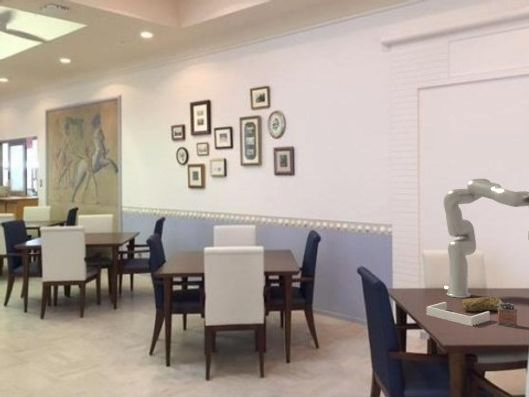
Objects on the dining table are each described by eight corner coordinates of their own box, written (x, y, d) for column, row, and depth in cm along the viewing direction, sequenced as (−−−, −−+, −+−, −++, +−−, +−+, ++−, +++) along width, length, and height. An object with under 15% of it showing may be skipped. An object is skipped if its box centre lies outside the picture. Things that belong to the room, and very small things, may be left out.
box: (426, 314, 249) (426, 306, 249) (444, 309, 258) (444, 301, 258) (471, 326, 230) (471, 317, 229) (489, 320, 238) (489, 311, 238)
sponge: (497, 310, 261) (457, 300, 265) (501, 296, 258) (461, 287, 262) (502, 322, 248) (460, 311, 252) (507, 307, 246) (464, 297, 250)
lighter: (516, 324, 231) (516, 302, 230) (517, 326, 228) (517, 304, 227) (497, 323, 233) (497, 301, 233) (497, 325, 230) (498, 303, 230)
